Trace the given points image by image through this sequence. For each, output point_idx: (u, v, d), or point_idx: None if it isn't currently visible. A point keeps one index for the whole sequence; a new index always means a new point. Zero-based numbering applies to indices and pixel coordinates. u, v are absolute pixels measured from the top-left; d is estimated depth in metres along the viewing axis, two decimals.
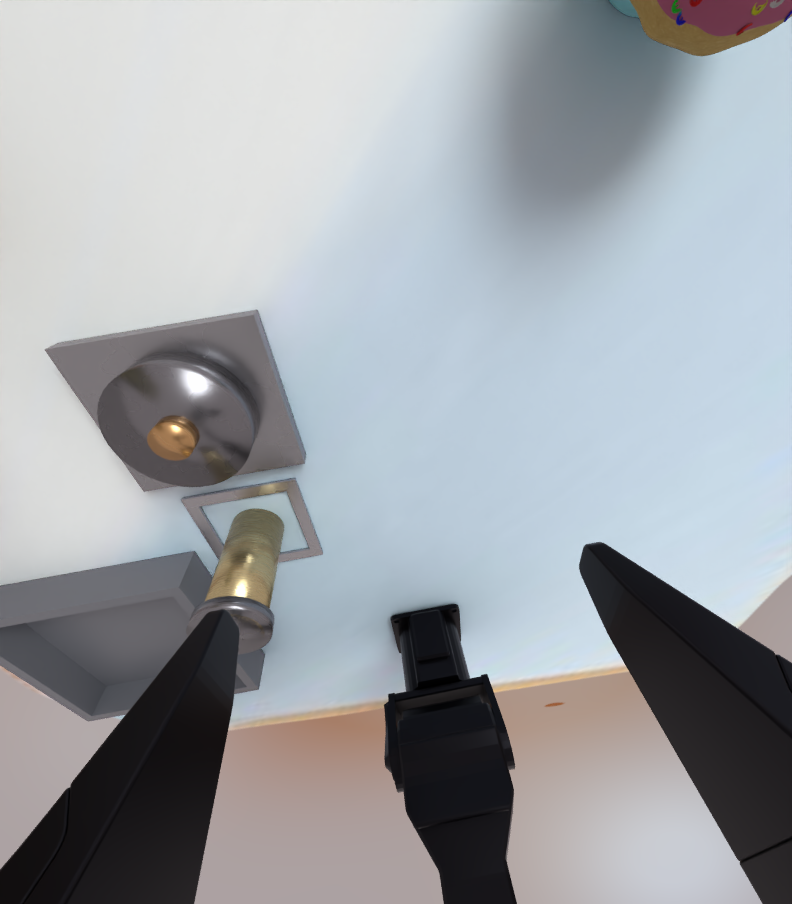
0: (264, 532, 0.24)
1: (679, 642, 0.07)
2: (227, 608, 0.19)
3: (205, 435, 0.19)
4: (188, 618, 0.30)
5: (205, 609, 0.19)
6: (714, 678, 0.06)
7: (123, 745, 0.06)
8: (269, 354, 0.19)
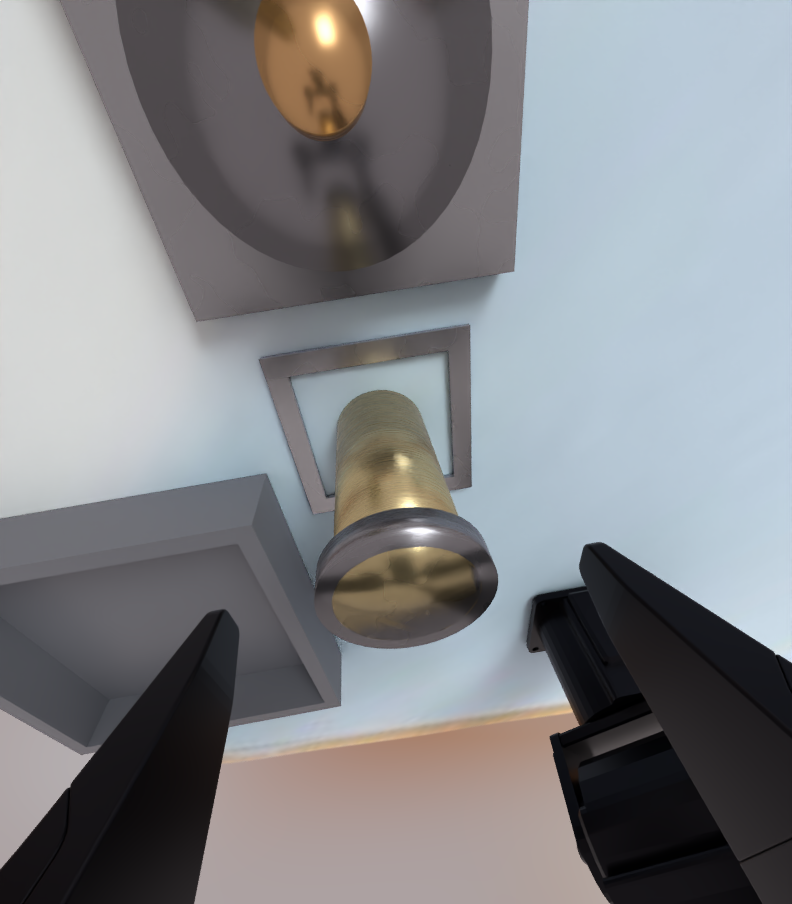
0: (414, 421, 0.13)
1: (679, 642, 0.07)
2: (428, 530, 0.08)
3: (381, 93, 0.07)
4: (242, 594, 0.19)
5: (372, 534, 0.08)
6: (714, 678, 0.06)
7: (123, 745, 0.06)
8: None
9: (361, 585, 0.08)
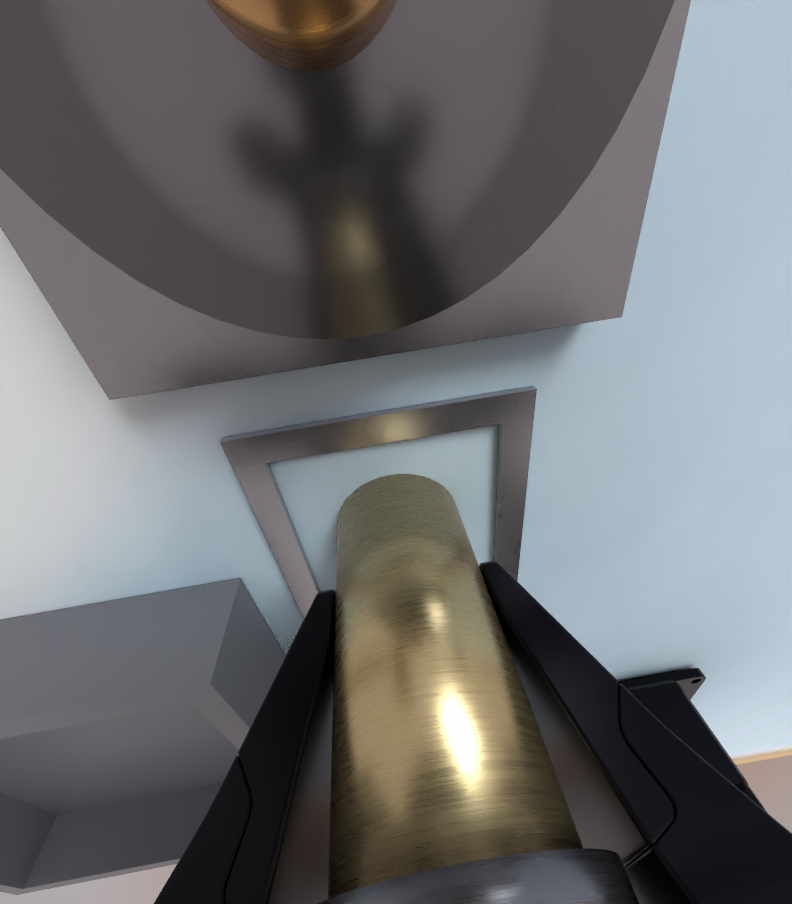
0: (453, 534, 0.09)
1: (535, 669, 0.06)
2: None
3: None
4: None
5: None
6: (556, 708, 0.06)
7: (279, 716, 0.06)
8: None
9: None
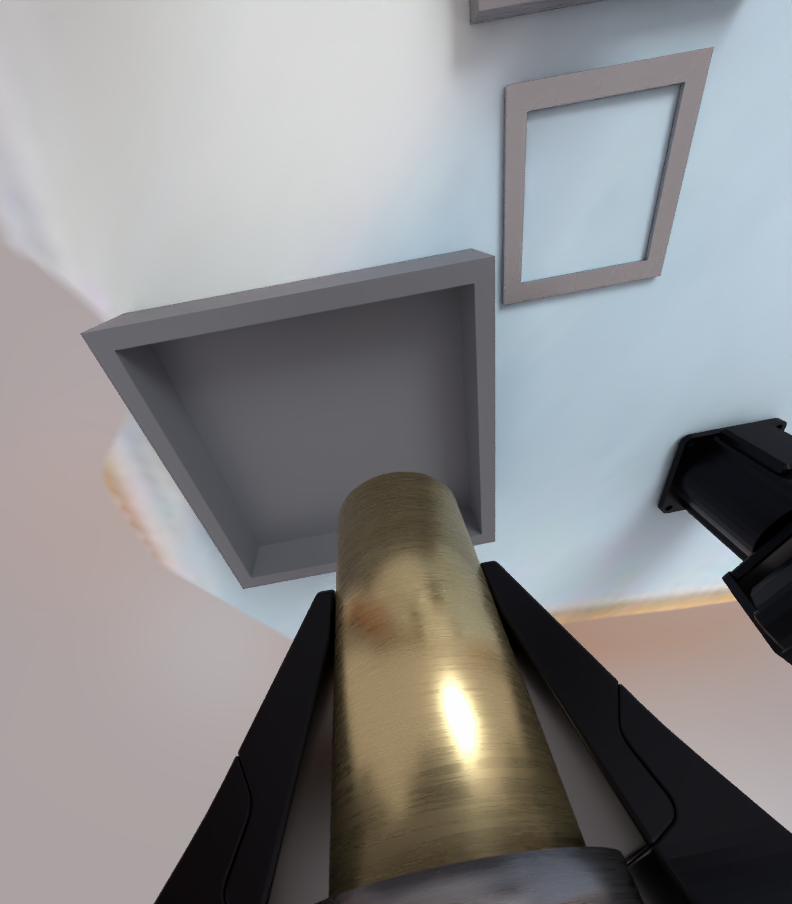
0: (454, 532, 0.09)
1: (535, 669, 0.06)
2: None
3: None
4: (417, 407, 0.19)
5: None
6: (556, 708, 0.06)
7: (279, 716, 0.06)
8: None
9: None
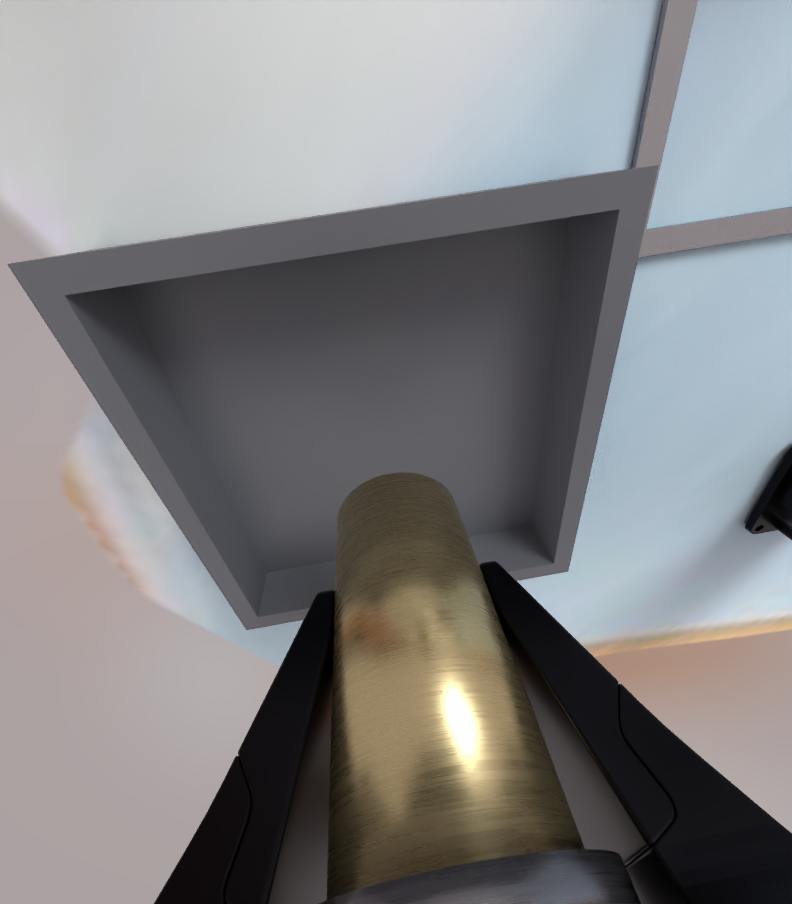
0: (453, 533, 0.09)
1: (535, 669, 0.06)
2: None
3: None
4: (485, 399, 0.15)
5: None
6: (557, 708, 0.06)
7: (279, 716, 0.06)
8: None
9: None
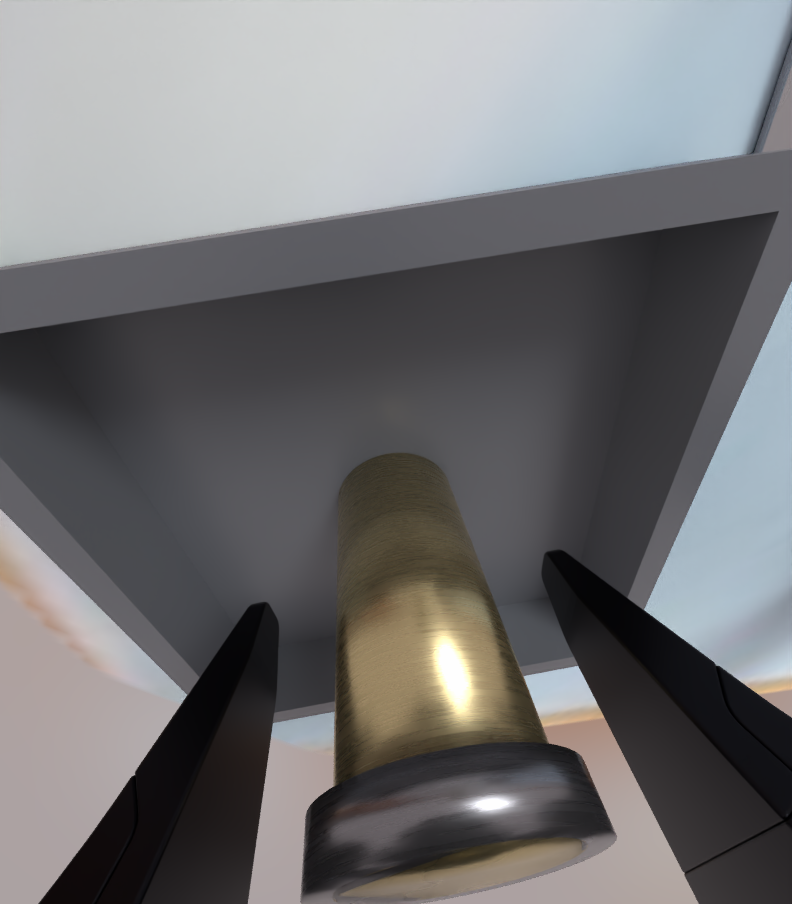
0: (445, 505, 0.09)
1: (624, 652, 0.06)
2: (514, 822, 0.04)
3: None
4: (529, 456, 0.11)
5: (407, 823, 0.04)
6: (654, 689, 0.06)
7: (183, 734, 0.06)
8: None
9: (385, 881, 0.05)
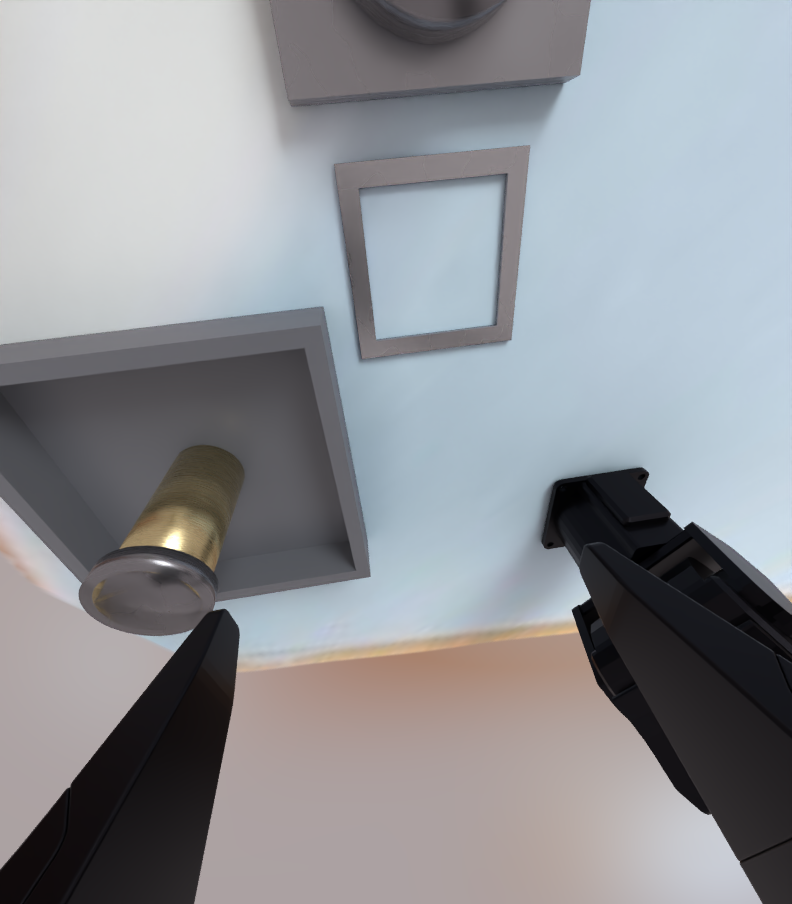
0: (214, 472, 0.18)
1: (679, 642, 0.07)
2: (141, 561, 0.12)
3: None
4: (285, 449, 0.20)
5: (107, 563, 0.12)
6: (714, 678, 0.06)
7: (123, 745, 0.06)
8: None
9: (110, 594, 0.13)
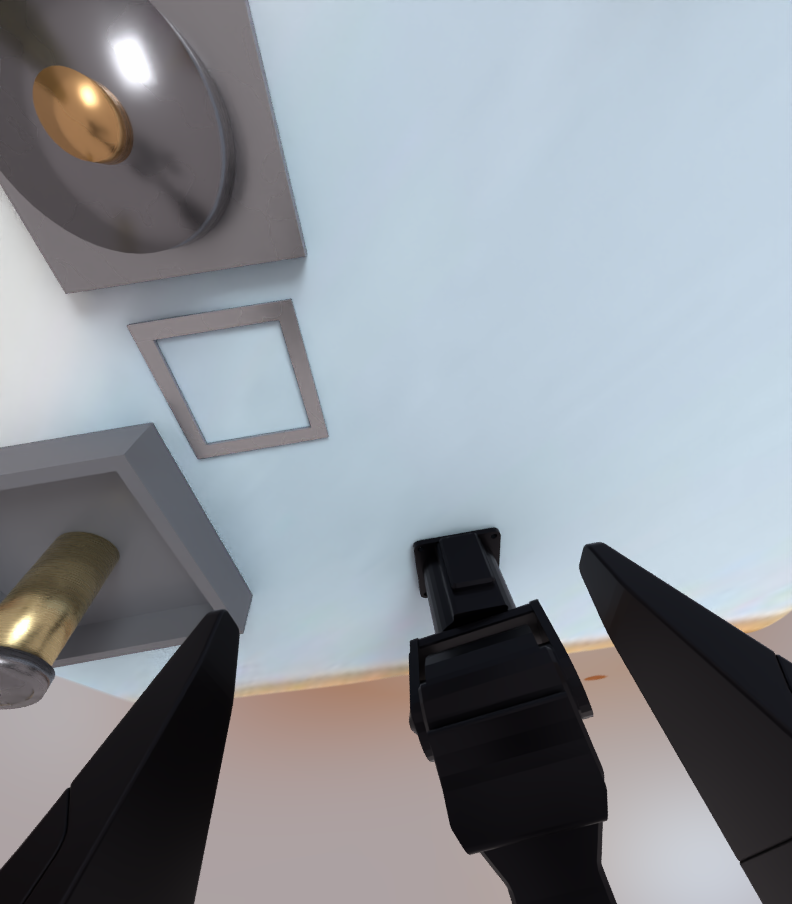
0: (74, 560, 0.21)
1: (679, 642, 0.07)
2: None
3: (143, 134, 0.11)
4: (149, 530, 0.23)
5: None
6: (714, 678, 0.06)
7: (123, 745, 0.06)
8: (250, 17, 0.12)
9: None
